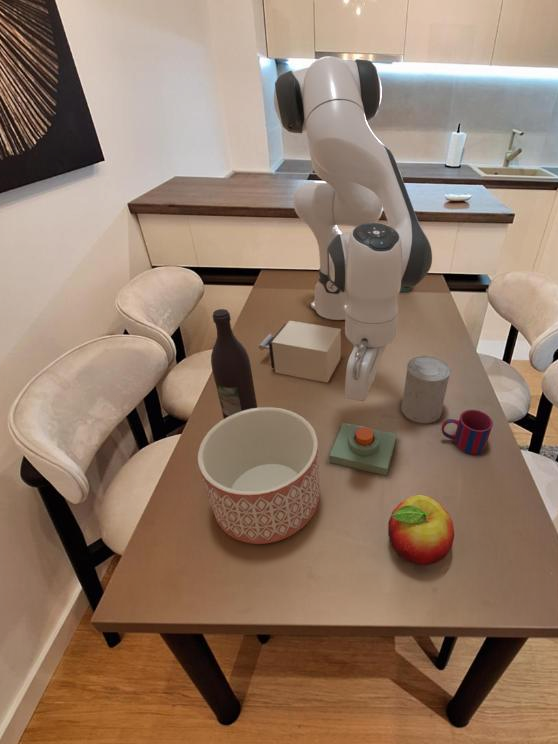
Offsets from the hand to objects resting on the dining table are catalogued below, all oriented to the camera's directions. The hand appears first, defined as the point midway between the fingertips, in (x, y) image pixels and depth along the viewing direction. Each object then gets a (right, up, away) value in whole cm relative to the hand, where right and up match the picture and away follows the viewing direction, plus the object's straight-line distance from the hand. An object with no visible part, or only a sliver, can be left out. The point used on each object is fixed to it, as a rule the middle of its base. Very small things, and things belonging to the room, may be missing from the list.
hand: (367, 387), depth 77 cm
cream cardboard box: (-15, +6, +31) cm, 35 cm away
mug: (+21, -12, +10) cm, 27 cm away
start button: (0, -11, +5) cm, 12 cm away
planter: (-18, -21, -3) cm, 28 cm away
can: (+16, +36, +72) cm, 82 cm away
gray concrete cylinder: (+14, -6, +18) cm, 24 cm away
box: (0, -14, +7) cm, 15 cm away
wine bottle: (-26, -11, +10) cm, 30 cm away
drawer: (-18, +7, +32) cm, 37 cm away
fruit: (+8, -27, -9) cm, 30 cm away
